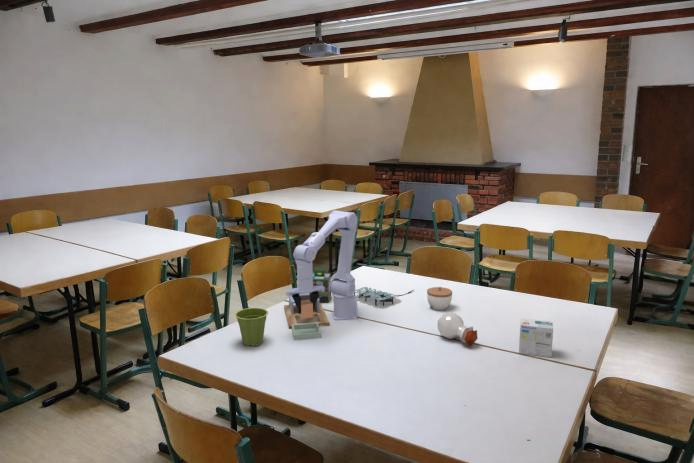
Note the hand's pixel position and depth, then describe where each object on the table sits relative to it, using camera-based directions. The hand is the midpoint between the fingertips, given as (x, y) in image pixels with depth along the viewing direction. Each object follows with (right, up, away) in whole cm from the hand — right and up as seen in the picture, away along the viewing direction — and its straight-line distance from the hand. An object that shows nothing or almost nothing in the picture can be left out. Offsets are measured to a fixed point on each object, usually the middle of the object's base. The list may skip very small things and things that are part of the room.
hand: (305, 311), depth 187 cm
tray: (0, -9, +2) cm, 9 cm away
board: (-2, -5, +19) cm, 20 cm away
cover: (-3, -3, +24) cm, 24 cm away
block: (0, -2, +1) cm, 2 cm away
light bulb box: (+81, -12, -14) cm, 83 cm away
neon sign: (+34, -1, +45) cm, 56 cm away
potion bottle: (+56, -10, -4) cm, 57 cm away
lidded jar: (+56, -3, +29) cm, 63 cm away
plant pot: (-19, -10, -5) cm, 22 cm away
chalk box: (+3, -1, +39) cm, 40 cm away
